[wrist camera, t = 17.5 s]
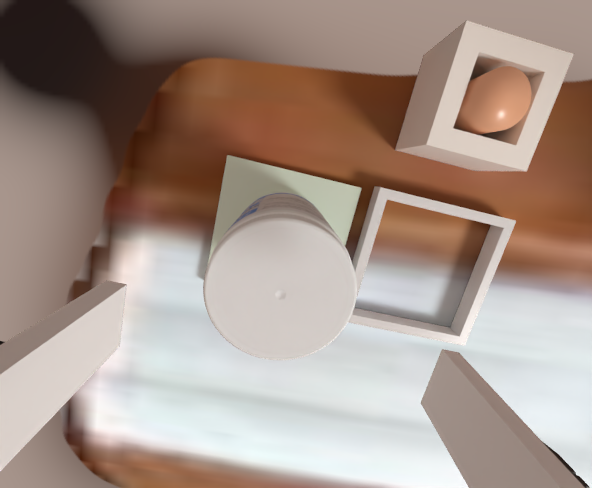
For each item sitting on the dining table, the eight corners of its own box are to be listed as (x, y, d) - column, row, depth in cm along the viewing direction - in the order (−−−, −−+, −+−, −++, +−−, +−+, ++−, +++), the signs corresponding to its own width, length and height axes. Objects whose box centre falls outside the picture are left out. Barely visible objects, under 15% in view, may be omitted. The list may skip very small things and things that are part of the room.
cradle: (502, 217, 33) (516, 220, 31) (454, 336, 37) (464, 345, 35) (374, 186, 32) (380, 187, 30) (337, 312, 35) (340, 320, 33)
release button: (496, 91, 28) (541, 75, 23) (477, 142, 29) (517, 137, 24) (450, 78, 27) (486, 58, 22) (433, 130, 28) (464, 122, 23)
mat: (359, 187, 32) (361, 187, 31) (326, 306, 35) (327, 309, 34) (228, 155, 30) (227, 154, 30) (206, 281, 34) (204, 284, 33)
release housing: (507, 80, 30) (574, 53, 23) (474, 170, 32) (526, 171, 25) (423, 55, 29) (466, 20, 22) (394, 150, 31) (426, 144, 24)
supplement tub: (245, 183, 30) (210, 195, 16) (335, 201, 31) (379, 227, 17) (231, 272, 33) (190, 352, 18) (316, 286, 33) (340, 374, 19)
